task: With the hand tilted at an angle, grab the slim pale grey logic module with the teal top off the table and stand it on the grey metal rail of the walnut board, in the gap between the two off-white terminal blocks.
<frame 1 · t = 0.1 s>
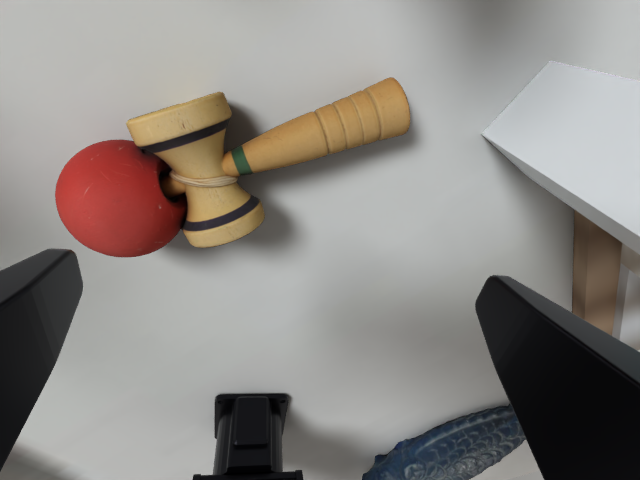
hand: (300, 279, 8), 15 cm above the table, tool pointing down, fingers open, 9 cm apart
logic module: (538, 123, 22), on the table
kendama: (241, 142, 21), on the table
rail board: (637, 281, 31), on the table
fish model: (444, 432, 42), on the table
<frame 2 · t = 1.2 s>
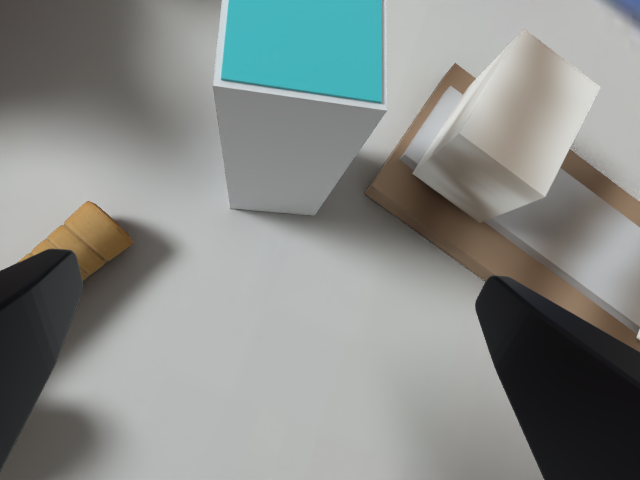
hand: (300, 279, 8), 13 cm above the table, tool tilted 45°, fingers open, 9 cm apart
logic module: (275, 172, 23), on the table
rail board: (552, 239, 25), on the table
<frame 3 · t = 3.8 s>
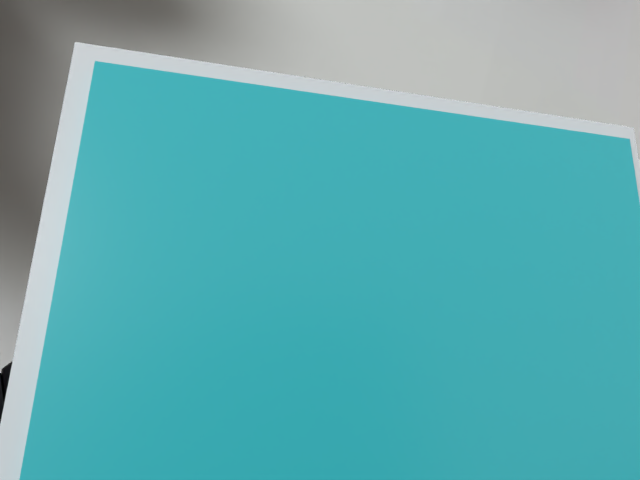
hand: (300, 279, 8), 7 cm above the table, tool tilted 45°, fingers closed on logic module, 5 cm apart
logic module: (274, 331, 14), on the table, touching gripper
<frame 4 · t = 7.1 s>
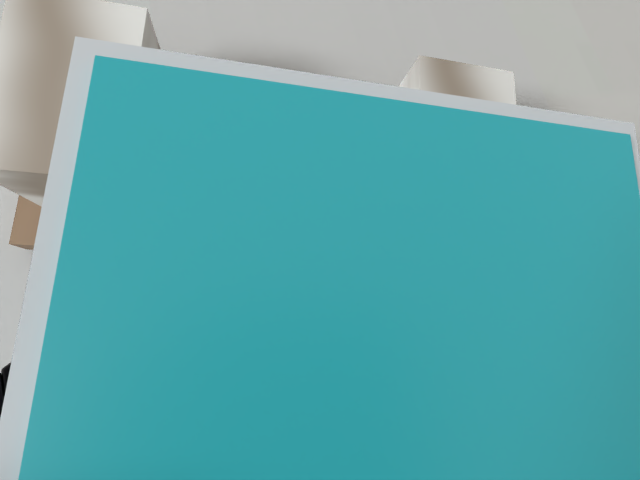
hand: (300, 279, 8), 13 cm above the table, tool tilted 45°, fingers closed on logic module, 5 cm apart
logic module: (274, 330, 14), point 7 cm above the table, touching gripper
rail board: (275, 174, 23), on the table
when the fingers open (10 cm above the table, at t = 9.1 s): logic module drops 1 cm, resting on rail board.
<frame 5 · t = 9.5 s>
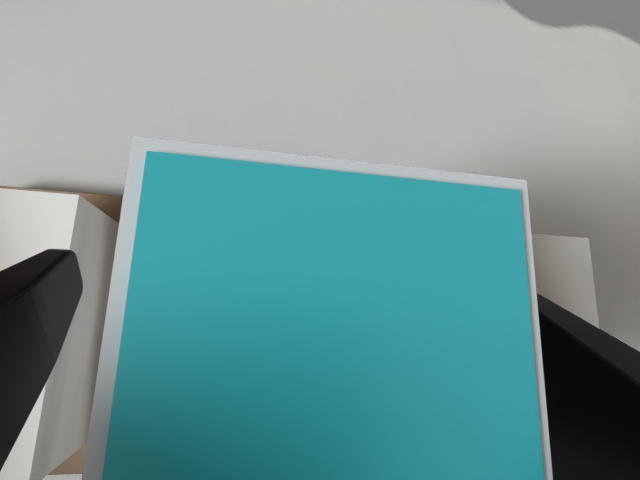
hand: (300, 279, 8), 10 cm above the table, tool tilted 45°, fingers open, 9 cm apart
logic module: (272, 329, 16), point 2 cm above the table, touching rail board
rail board: (268, 328, 18), on the table
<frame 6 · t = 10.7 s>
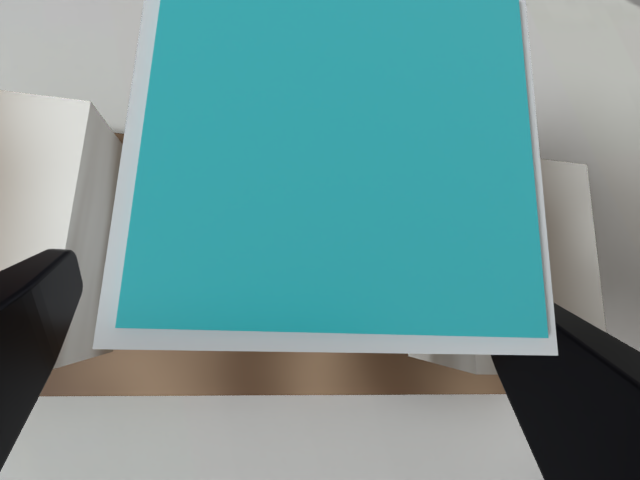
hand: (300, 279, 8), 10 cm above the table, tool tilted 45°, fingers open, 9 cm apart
logic module: (276, 263, 16), point 2 cm above the table, touching rail board
rail board: (272, 269, 18), on the table
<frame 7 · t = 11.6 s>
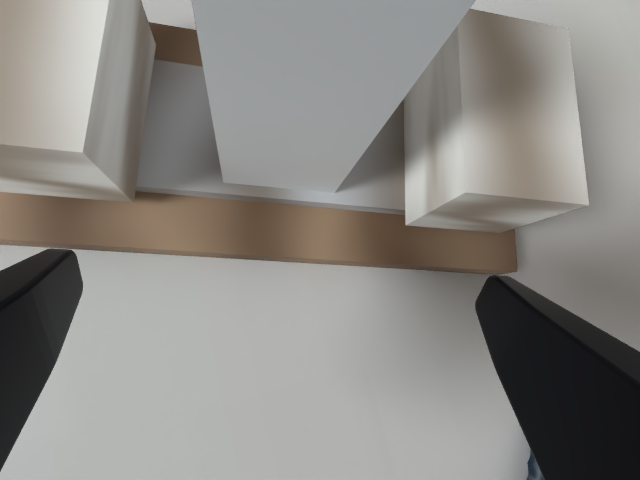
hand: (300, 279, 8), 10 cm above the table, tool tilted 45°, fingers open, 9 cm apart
logic module: (283, 136, 17), point 2 cm above the table, touching rail board
rail board: (278, 157, 19), on the table
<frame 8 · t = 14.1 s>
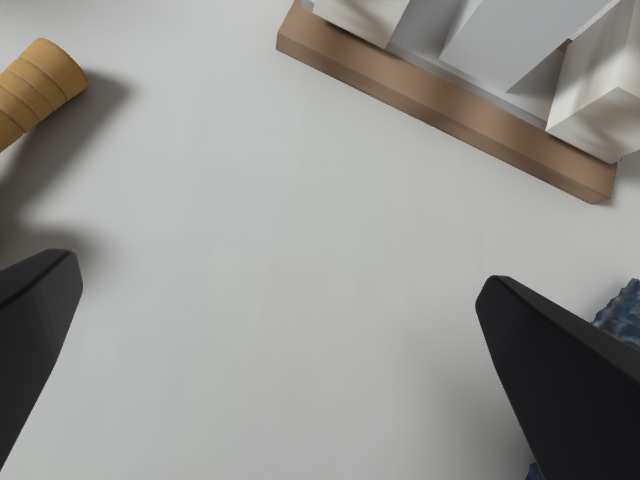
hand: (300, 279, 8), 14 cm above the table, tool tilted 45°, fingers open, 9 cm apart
logic module: (481, 47, 25), point 2 cm above the table, touching rail board
rail board: (462, 69, 27), on the table
fish model: (578, 422, 24), on the table
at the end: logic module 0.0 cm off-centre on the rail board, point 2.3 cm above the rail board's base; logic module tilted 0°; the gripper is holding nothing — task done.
